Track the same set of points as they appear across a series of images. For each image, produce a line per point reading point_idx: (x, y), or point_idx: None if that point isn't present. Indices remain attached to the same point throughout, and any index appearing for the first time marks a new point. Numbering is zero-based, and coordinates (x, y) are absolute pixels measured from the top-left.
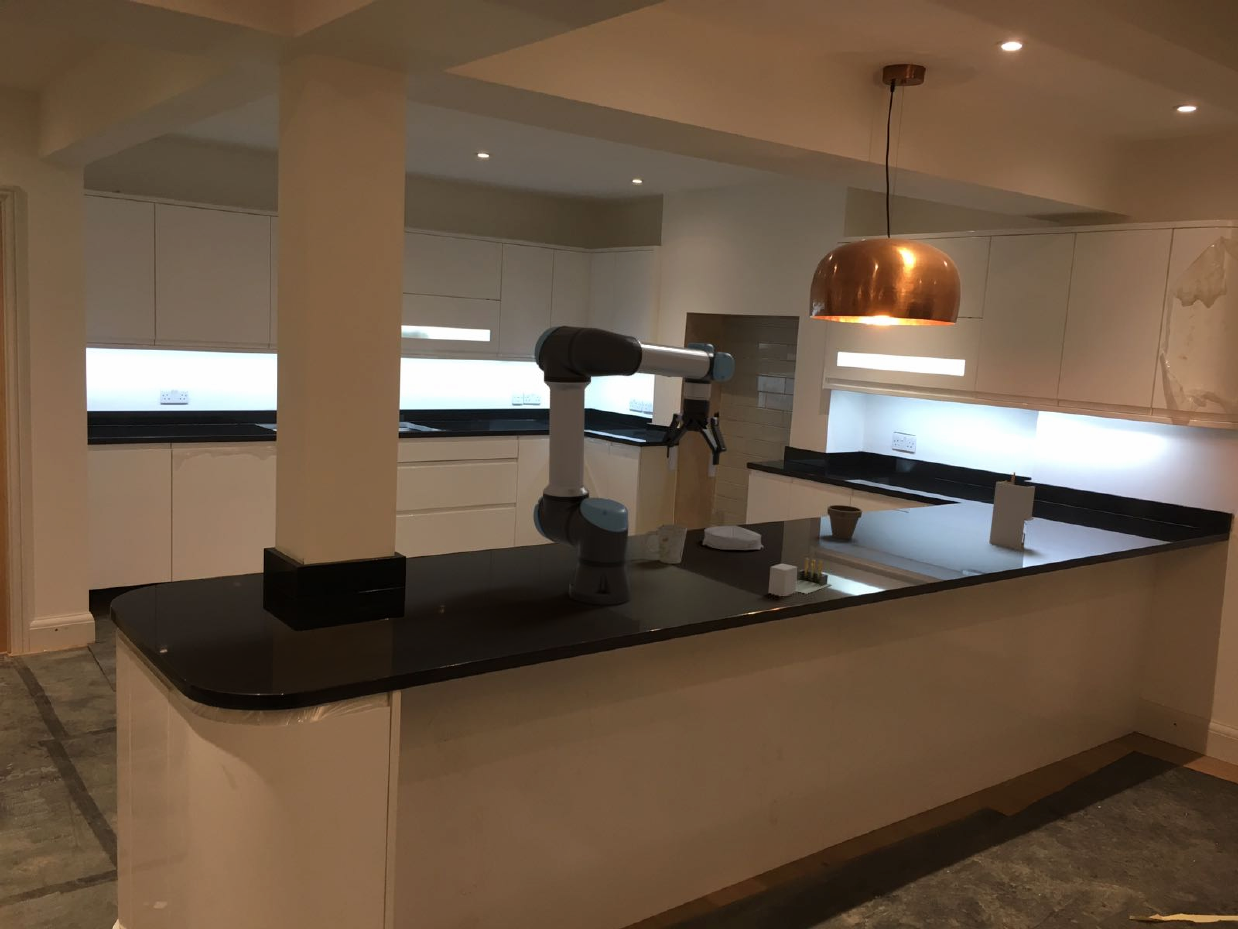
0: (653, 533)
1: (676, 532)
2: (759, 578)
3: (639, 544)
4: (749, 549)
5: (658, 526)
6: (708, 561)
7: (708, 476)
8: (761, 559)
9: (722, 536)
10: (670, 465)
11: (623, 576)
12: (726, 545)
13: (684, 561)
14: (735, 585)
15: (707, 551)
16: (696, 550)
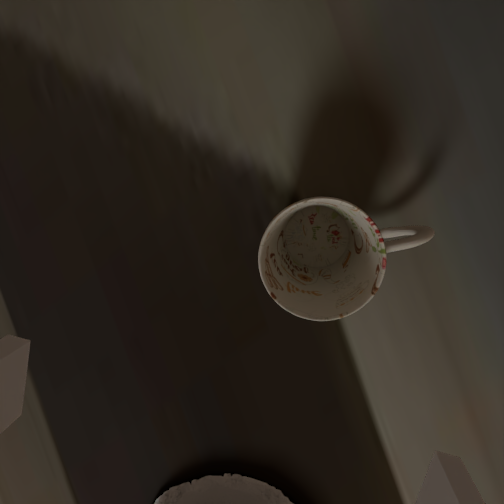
0: (397, 240)
1: (283, 209)
2: (22, 199)
3: (489, 403)
4: (157, 500)
5: (380, 239)
6: (215, 310)
7: (28, 341)
8: (100, 425)
9: None
10: (450, 487)
11: None
12: (219, 490)
13: None
14: (42, 67)
15: (263, 433)
16: (296, 427)
